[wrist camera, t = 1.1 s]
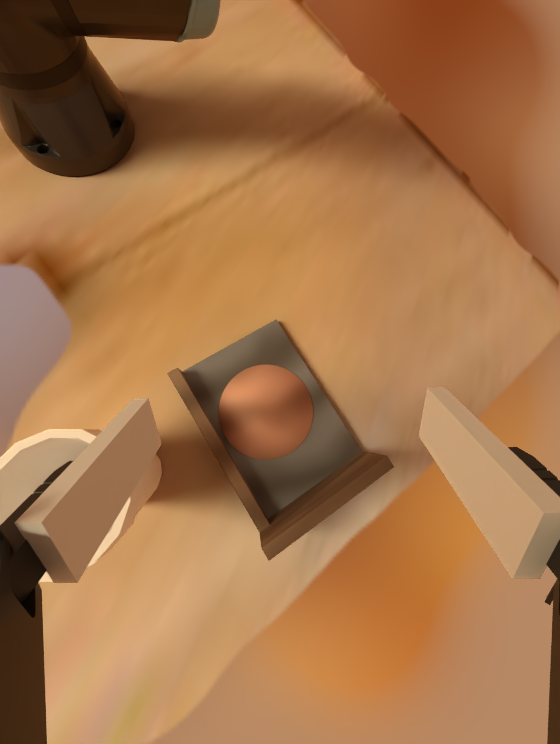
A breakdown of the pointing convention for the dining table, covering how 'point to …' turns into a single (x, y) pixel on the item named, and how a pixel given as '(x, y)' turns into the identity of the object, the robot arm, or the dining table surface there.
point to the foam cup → (46, 454)
